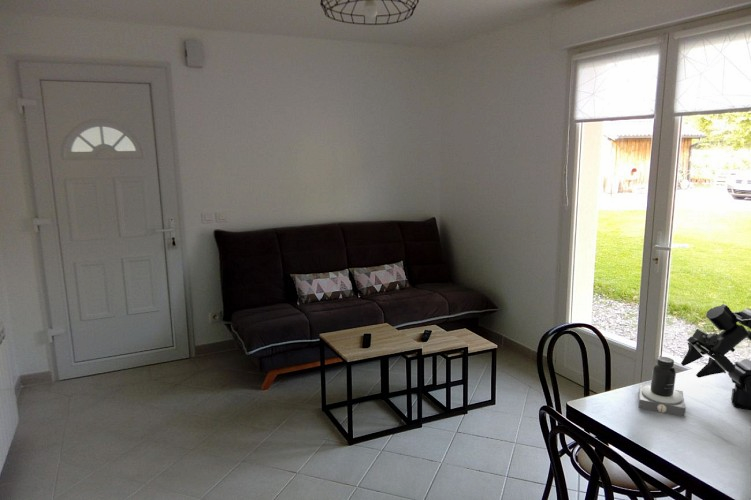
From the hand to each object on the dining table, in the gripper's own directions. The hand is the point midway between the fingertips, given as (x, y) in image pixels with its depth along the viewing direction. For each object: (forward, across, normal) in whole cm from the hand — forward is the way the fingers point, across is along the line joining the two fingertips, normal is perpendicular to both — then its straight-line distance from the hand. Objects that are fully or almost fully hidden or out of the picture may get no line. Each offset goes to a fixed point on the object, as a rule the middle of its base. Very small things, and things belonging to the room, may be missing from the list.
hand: (689, 370), depth 172 cm
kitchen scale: (+14, 0, +3) cm, 15 cm away
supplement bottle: (+12, 0, 0) cm, 12 cm away
